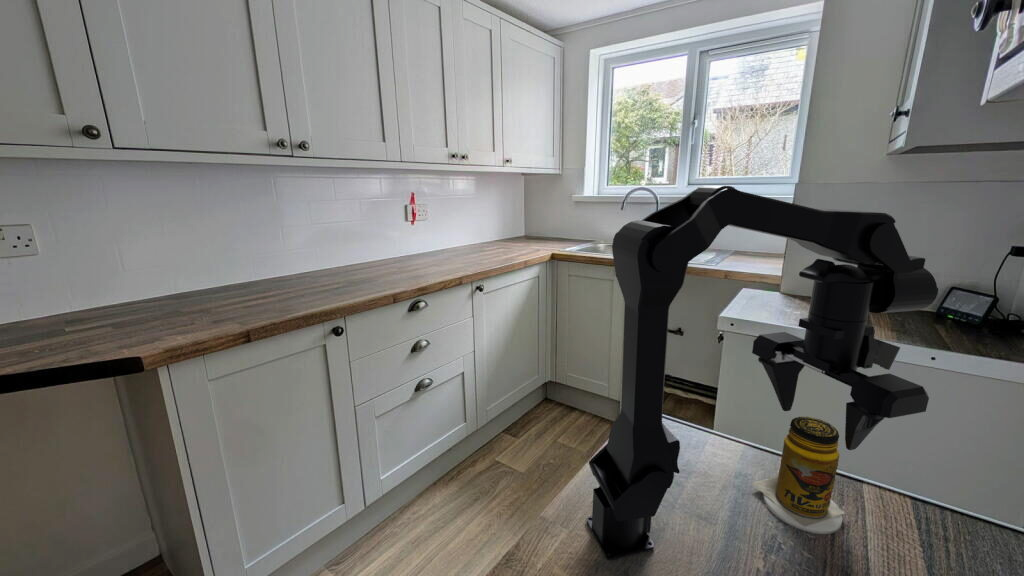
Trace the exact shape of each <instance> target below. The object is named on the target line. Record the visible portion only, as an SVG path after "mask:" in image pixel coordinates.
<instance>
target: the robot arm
mask: <svg viewBox="0 0 1024 576" xmlns="http://www.w3.org/2000/svg"><path fill="white" fill-rule="evenodd" d="M895 223H897V221H896V219H895V218H894V216H892V215H890V214H889V213H886V212H876V211H864V210H862V211H861V210H850V209H849V210H848V209H835V208H834V209H833V208H814V207H813V208H812V207H809V206H805V205H800V204H796V203H792V202H787V201H783V200H779V199H776V198H771V197H767V196H763V195H758V194H754V193H751V192H750V193H749V192H745V191H741V190H738V189H737V188H735V187H734V186H731V185H701V186H699V187H697V188H696V189H694V190H692V191H691V192H689V193H688V194H686V195H685V196H684V197H682V198H681V199H679V200H677V201H674V202H672V203H670V204H668V205H667V206H664V207H662V208H660V209H658V210H655V211H653V212H652V213H650V214H649V215H647V216H646V217H644V218H643V219H641V220H638V219H637V220H633V221H630V222H628V223H626V224H625V225H623V226H622V227H621V228H620V229H619V230H618V231H617V232H616V233H615V234H614V236H613V238H612V245H611V250H612V257H613V266H614V273H615V276H616V279H617V283H618V284H619V288H620V292H621V294H622V297H623V300H624V301H623V302H624V315H623V316H624V318H623V322H624V323H623V342H622V343H623V344H622V345H623V347H622V348H623V350H622V369H621V370H622V373H621V374H622V377H621V378H622V379H621V399H620V400H621V402H620V403H621V404H620V405H621V407H620V408H621V409H620V413H619V414H618V416H617V417H616V419H615V420H614V422H613V423H612V425H611V427H610V429H609V430H610V431H609V435H608V439H607V443H606V444H605V445H604V446H603V447H602V448H601V449H600V450H598V452H597V453H596V454H595V455H594V456H593V457H591V458H590V460H589V461H588V465H589V468H590V471H591V474H592V475H593V477H594V479H596V481H597V483H598V487H594V488H593V491H592V493H593V494H592V510H591V511H592V513H591V514H592V515H588V516H587V517H586V524H587V525H588V527H589V529H590V532H591V533H592V535H593V537H594V538H595V540H596V542H597V544H598V547H600V550H601V552H602V554H603V556H604V558H606V559H607V560H614V559H618V558H623V557H627V556H632V555H636V554H640V553H644V552H649V551H652V550H654V548H655V544H654V542H653V540H652V538H651V537H650V536H649V534H650V532H651V527H652V517H654V516H656V514H657V512H658V510H659V507H660V505H661V503H662V502H663V499H664V497H665V494H666V493H667V491H668V489H670V488H671V486H672V484H673V482H674V478H675V474H680V473H681V472H680V469H679V465H678V459H679V455H680V451H681V444H680V440H679V439H678V438H677V436H675V435H674V433H672V431H671V430H669V428H668V427H666V425H665V424H664V423H663V412H664V411H663V410H664V408H663V407H664V395H665V392H664V391H665V378H666V377H665V376H666V364H667V363H666V362H667V361H666V360H667V344H668V329H669V317H670V316H669V313H670V307H671V304H672V303H673V301H674V300H675V298H676V297H677V294H678V293H679V292H680V290H681V288H683V286H684V283H685V280H686V274H687V270H688V267H689V262H690V261H692V260H693V259H694V258H697V257H698V256H699V255H701V254H702V253H704V252H706V250H707V249H709V247H710V246H711V245H712V244H713V242H714V241H715V239H716V238H717V237H718V235H719V234H720V233H721V231H723V230H724V229H725V228H727V227H728V226H729V227H733V228H736V229H737V228H738V229H743V230H748V231H752V232H757V233H761V234H766V235H769V236H770V235H771V236H775V237H780V238H783V239H784V238H785V239H789V240H791V241H792V242H796V243H797V244H798V245H799V246H801V247H802V248H803V249H806V250H808V251H811V252H812V253H814V254H816V255H819V256H823V257H829V258H831V259H833V260H834V261H835V262H840V263H844V264H835V262H834V261H832V260H826V259H821V258H816V259H815V261H814V262H812V263H811V264H810V265H808V266H806V267H804V268H803V269H802V270H801V271H799V273H798V276H799V277H800V278H804V279H807V280H811V281H813V285H812V289H811V290H812V291H811V297H810V301H809V302H810V303H809V308H808V309H809V310H808V315H807V317H805V318H803V317H802V318H799V321H798V327H799V328H803V329H804V330H805V334H804V338H801V337H799V336H796V335H794V334H791V333H789V332H786V331H781V332H772V333H763V334H759V335H758V336H756V338H755V339H754V340H753V345H752V351H751V353H752V355H756V356H758V358H757V361H758V362H759V363H761V365H762V367H763V368H764V370H765V372H766V374H767V376H768V378H769V381H770V383H771V385H772V387H773V390H774V393H775V394H776V397H777V400H778V403H779V405H780V407H781V409H782V411H784V412H790V411H791V410H792V407H793V405H794V402H795V401H794V400H795V397H796V390H797V385H798V380H799V375H800V373H801V371H802V370H803V369H804V367H808V368H809V369H812V370H814V371H816V372H817V373H820V374H823V375H825V376H827V377H829V378H831V379H833V380H836V381H837V382H840V383H843V384H844V385H847V386H848V387H850V394H849V395H850V397H851V398H852V400H853V401H849V402H846V403H845V431H844V432H845V433H844V442H845V448H846V449H847V450H848V451H852V450H853V451H854V450H856V449H857V448H858V447H859V446H860V445H861V444H862V443H863V442H864V440H865V439H866V438H867V437H868V436H869V435H870V433H871V432H872V431H873V430H874V429H875V427H876V426H878V425H879V424H880V423H881V422H882V421H883V420H884V419H886V418H887V419H894V418H898V417H905V416H909V415H910V416H911V415H915V414H921V413H926V412H927V407H928V404H929V399H930V398H929V394H928V392H927V391H926V389H925V387H924V386H923V385H921V384H917V383H915V382H913V381H910V380H907V379H905V378H903V377H900V376H897V375H895V374H893V373H884V374H877V375H870V376H869V375H867V374H864V373H862V372H860V371H858V368H862V369H871V368H873V365H878V366H879V367H881V368H883V369H884V370H888V371H889V370H890V369H891V367H892V365H893V363H894V361H895V359H896V357H897V355H898V353H899V352H900V350H901V347H900V346H898V345H895V344H892V343H890V342H887V341H883V340H880V339H879V338H878V339H877V338H875V335H876V334H875V332H876V330H875V326H873V325H869V324H867V321H868V316H869V313H872V314H885V313H886V314H887V313H898V312H910V311H912V312H913V311H920V310H921V311H922V310H923V309H926V308H928V307H929V306H931V305H933V303H934V302H935V300H936V299H937V297H938V294H939V288H938V286H937V281H936V279H935V277H934V275H933V274H932V273H931V271H929V270H928V269H927V268H925V265H926V264H925V263H926V258H925V257H920V256H914V255H909V254H908V251H907V249H906V247H905V245H904V242H903V240H902V238H901V235H900V233H899V230H898V228H897V227H896V225H895Z"/></svg>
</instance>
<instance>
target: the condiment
mask: <svg viewBox="0 0 1024 576" xmlns="http://www.w3.org/2000/svg"><path fill="white" fill-rule="evenodd" d="M839 438H840V434H839V430H838V429H837V428H836V427H835V426H834V425H832V424H831V423H829V422H827V421H825V420H823V419H819V418H816V417H810V416H797V417H794V418H793V419H791V421H790V424H789V429H788V434H786V436H785V437H784V441H783V446H782V451H781V459H780V465H779V470H778V475H775V476H773V477H768V478H767V479H766V478H765V479H761V480H758V481H753V482H750V484H751V485H752V486H754V487H755V488H756V489H757V490H758V491H759V492H761V493H762V494H765V495H766V496H767V497H769V498H770V499H771V500H772V501H773V502H774V503H775V504H776V505H778V506H779V507H780V508H781V509H783V510H784V511H785V512H786V513H788V514H789V515H790V516H791V517H792V518H794V519H795V520H796V521H797V522H799V523H800V524H801V525H803V526H807V525H810V524H814V523H818V522H821V521H824V520H827V519H830V518H833V517H835V516H837V515H841V514H842V515H844V514H846V511H844V510H843V509H841V508H839V506H838V505H837V506H838V507H837V506H835V505H833V504H832V503H831V500H832V494H833V491H834V485H835V481H836V473H837V470H838V467H839V459H840V452H839V450H838V447H839ZM830 499H831V500H830Z"/></svg>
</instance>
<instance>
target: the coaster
mask: <svg viewBox="0 0 1024 576" xmlns="http://www.w3.org/2000/svg"><path fill="white" fill-rule="evenodd" d="M762 494H763V495H762V498H763V502H764V505H765V506H766V507H767V509H768V510H769V511H770V512H771V513H772V514H773V515H774V516H775V517H777V518H778V519H779V520H781V521H783V522H784V523H786V524H787V525H789V526H791V527H793V528H795V529H798V530H800V531H804V532H807V533H811V534H817V535H829V534H834V533H836V532H838V531H839V530H840V528H841V527H842V523H843V514H841V515H837V516H835V517H833V518H830V519H827V520H824V521H821V522H818V523H814V524H810V525H807V526H803V525H801V524H800V523H799V522H797V521H796V520H795V519H794V518H792V517H791V516H790V515H789V514H788V513H786V512H785V511H784V510H783V509H781V508H780V507H779V506H778V505H776V504H775V503H774V502H773V501H772V500H771V499H770V498H769V497H767V496H766V495H765V494H764V493H762ZM830 500H831V503H832V504H833V505H835V506H837V507H838V508H839V506H838V505H837V504H836V503H835V502H834V501H833V500H832V498H831V499H830Z"/></svg>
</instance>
